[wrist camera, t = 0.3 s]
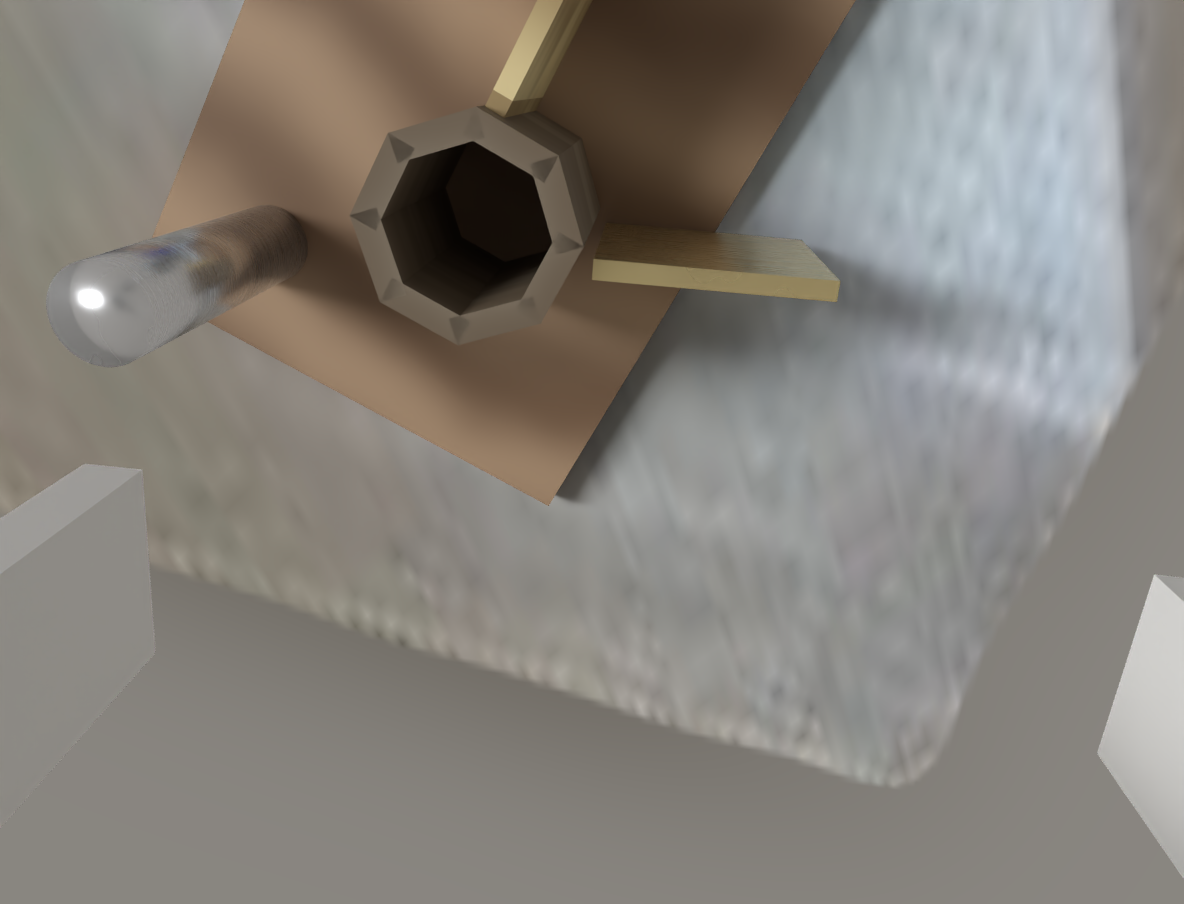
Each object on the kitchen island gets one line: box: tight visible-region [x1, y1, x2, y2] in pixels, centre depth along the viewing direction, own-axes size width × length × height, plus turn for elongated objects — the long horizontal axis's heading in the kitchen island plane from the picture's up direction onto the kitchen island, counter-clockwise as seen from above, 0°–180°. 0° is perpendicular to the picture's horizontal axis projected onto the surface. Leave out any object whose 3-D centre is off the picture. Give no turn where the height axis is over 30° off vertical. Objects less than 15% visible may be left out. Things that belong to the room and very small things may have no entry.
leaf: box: [592, 223, 840, 302], centre depth 31 cm, size 7×1×8 cm, turn 85°
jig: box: [152, 0, 855, 506], centre depth 31 cm, size 24×18×10 cm
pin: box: [46, 205, 308, 367], centre depth 31 cm, size 3×3×12 cm
